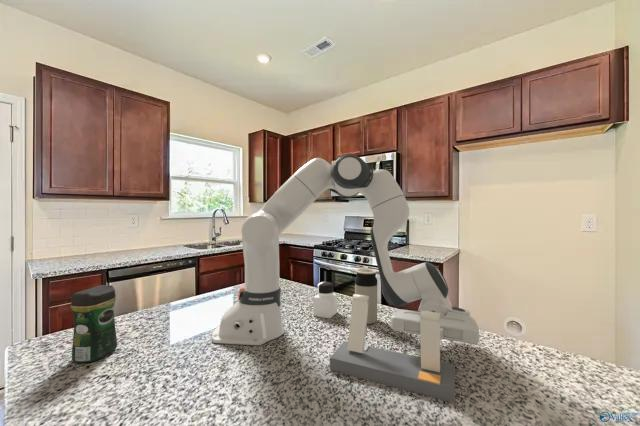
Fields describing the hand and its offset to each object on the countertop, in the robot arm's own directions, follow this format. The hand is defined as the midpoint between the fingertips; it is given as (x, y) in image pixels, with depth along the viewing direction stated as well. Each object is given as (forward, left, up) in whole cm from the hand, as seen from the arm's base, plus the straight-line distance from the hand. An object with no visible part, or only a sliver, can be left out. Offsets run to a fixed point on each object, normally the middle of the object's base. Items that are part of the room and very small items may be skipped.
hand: (430, 338), depth 64 cm
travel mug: (-6, +38, -11) cm, 40 cm away
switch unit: (-8, +5, -11) cm, 14 cm away
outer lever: (0, 0, -7) cm, 7 cm away
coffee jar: (-86, +20, -11) cm, 89 cm away
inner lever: (-15, +9, -7) cm, 19 cm away
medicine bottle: (-20, +45, -11) cm, 50 cm away
